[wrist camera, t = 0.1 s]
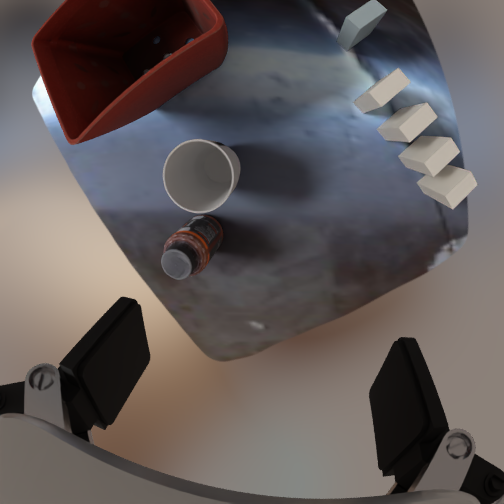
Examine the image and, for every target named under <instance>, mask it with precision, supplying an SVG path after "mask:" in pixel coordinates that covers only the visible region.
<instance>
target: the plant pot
mask: <svg viewBox="0 0 504 504" xmlns="http://www.w3.org/2000/svg"><path fill="white" fill-rule="evenodd" d="M157 36H159V37H160V42H159V43H157V44H154V43H153V39H154V38H155V37H157ZM189 38H193V39H194V40H193V41H191V42H190V43H188V44H187V45H186V44H185V42H186V40H187V39H189ZM32 49H33V52H34V55H35V59H36V61H37V64H38V68H39V70H40V73H41V76H42V79H43V82H44V84H45V87H46V90H47V93H48V95H49V98H50V101H51V103H52V106H53V108H54V111H55V113H56V116H57V118H58V121H59V123H60V125H61V128H62V130H63V132H64V135H65V137H66V139H67V141H68V143H70V144H71V145H75V144H79V143H82V142H85V141H88V140H90V139H93V138H96V137H98V136H101V135H104V134H106V133H109V132H111V131H113V130H116V129H118V128H120V127H123V126H125V125H127V124H129V123H131V122H133V121H135V120H137V119H139V118H141V117H143V116H145V115H147V114H149V113H151V112H152V111H154V110H156V109H157V108H159V107H160V106H161V105H163V104H164V103H165V102H167V101H168V100H169V99H171V98H172V97H174V96H175V95H177V94H178V93H179V92H181V91H182V90H184V89H185V88H187V87H188V86H190V85H191V84H193V83H194V82H196V81H197V80H199V79H200V78H202V77H204V76H205V75H207V74H208V73H210V72H212V71H213V70H215V69H217V68H218V67H219V66H220V65H221V64H222V63H223V61H224V59H225V57H226V54H227V50H228V32H227V27H226V24H225V21H224V18H223V16H222V15H221V14H220V12H219V11H218V10H217V8H216V7H215V6H214V5H213V3H212V2H211V1H210V0H65V1H64V2H63V3H62V5H61V6H60V7H59V8H58V9H57V10H56V11H55V12H54V13H53V14H52V15H51V16H50V17H49V19H48V20H47V21H46V22H45V23H44V24H43V26H42V27H41V28H40V29H39V30H38V32H37V33H36V34H35V36H34V37H33V40H32ZM167 52H170V53H171V54H172V55H170V56H169V57H167V58H166V59H164V60H163V55H164V54H165V53H167ZM147 68H148V69H150V71H148V72H147V73H146V74H145V75H143V71H144V70H145V69H147Z"/></svg>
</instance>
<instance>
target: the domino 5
mask: <svg viewBox="0 0 504 504" xmlns="http://www.w3.org/2000/svg"><path fill="white" fill-rule="evenodd" d="M417 184H418V185H419V187H420V188H421V190H422V191H423V193H424V194H426V195H428V196H430V197H431V198H433V199H435V200H437V201H439V202H441V203H442V204H444V205H446V206H448V207H449V208H451V209H454V208H455V207H456V206H457V205H458V204H459V203H460V202H461V201H462V200H463V199H464V198H465V197H466V196H467V195H468V194H469V193H470V192H471V191H472V190H473V189H474V188H475V187H476V186H477V185H478V184H477V182H476V180H475V178H474V176H473V174H472V172H471V171H468V170H465V169H461V168H458V167H454V166H451V165H446V166H445V167H444V168H443V169H442V170H441V171H440V172H439V173H437V174H436V175H435V176H434V177H432V176H429V175H425V176H424V177H423V178H421V179H420V180H419V181H418V182H417Z"/></svg>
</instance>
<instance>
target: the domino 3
mask: <svg viewBox="0 0 504 504" xmlns="http://www.w3.org/2000/svg"><path fill="white" fill-rule="evenodd" d="M436 118H437V115H436V114H435V113H434V111H433V110H432V108H431V107H430V106H429V104H428V103H422V104H417V105H413V106H409V107H404V108H400V109H399V110H398V111H397V112H396V113H394V114H393V115H392V116H391V117H390V118H389V119H388V120H386V121H385V122H384V123H383V124H382V125H381V126H379V127H378V128H377V130H378V132H379V133H380V134H381V135H382V136H383V138H384V139H385V140H386V141H400V142H411V141H412V140H413V139H414V138H415V137H416V136H417V135H419V134H420V133H421V132H422V131H423V130H424V129H425V128H426V127H427V126H429V125H430V124H431V123H432V122H433V121H434V120H435V119H436Z"/></svg>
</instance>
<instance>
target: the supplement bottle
mask: <svg viewBox="0 0 504 504" xmlns="http://www.w3.org/2000/svg"><path fill="white" fill-rule="evenodd" d="M222 240H223V230H222V227H221V225H220V224H219V222H218V221H217V220H216V219H214V218H213V217H211V216H208V215H198V216H195V217H193V218H192V219H190V220H189V221H188V222H187V223H186V224H184V225H183V226H182V227H181V228H180V229H179V230H177V231H176V232H175V233H174V234H173V235H172V236H171V237H169V239H168V240H167V241H166V243H165V246H164V254H163V256H162V259H161V264H162V267H163V269H164V271H165V272H166V273H167V275H169V276H170V277H172V278H174V279H178V280H179V279H185V278H187V277H188V276H194V275H196V274H198V273H200V272H201V271H202V270H203V269H204V268H205V267H206V265H207V264H208V262H209V261H210V259H211V258H212V256H213V255H214V254H215V252H216V251H217V249H218V248H219V246H220V245H221V242H222Z"/></svg>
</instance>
